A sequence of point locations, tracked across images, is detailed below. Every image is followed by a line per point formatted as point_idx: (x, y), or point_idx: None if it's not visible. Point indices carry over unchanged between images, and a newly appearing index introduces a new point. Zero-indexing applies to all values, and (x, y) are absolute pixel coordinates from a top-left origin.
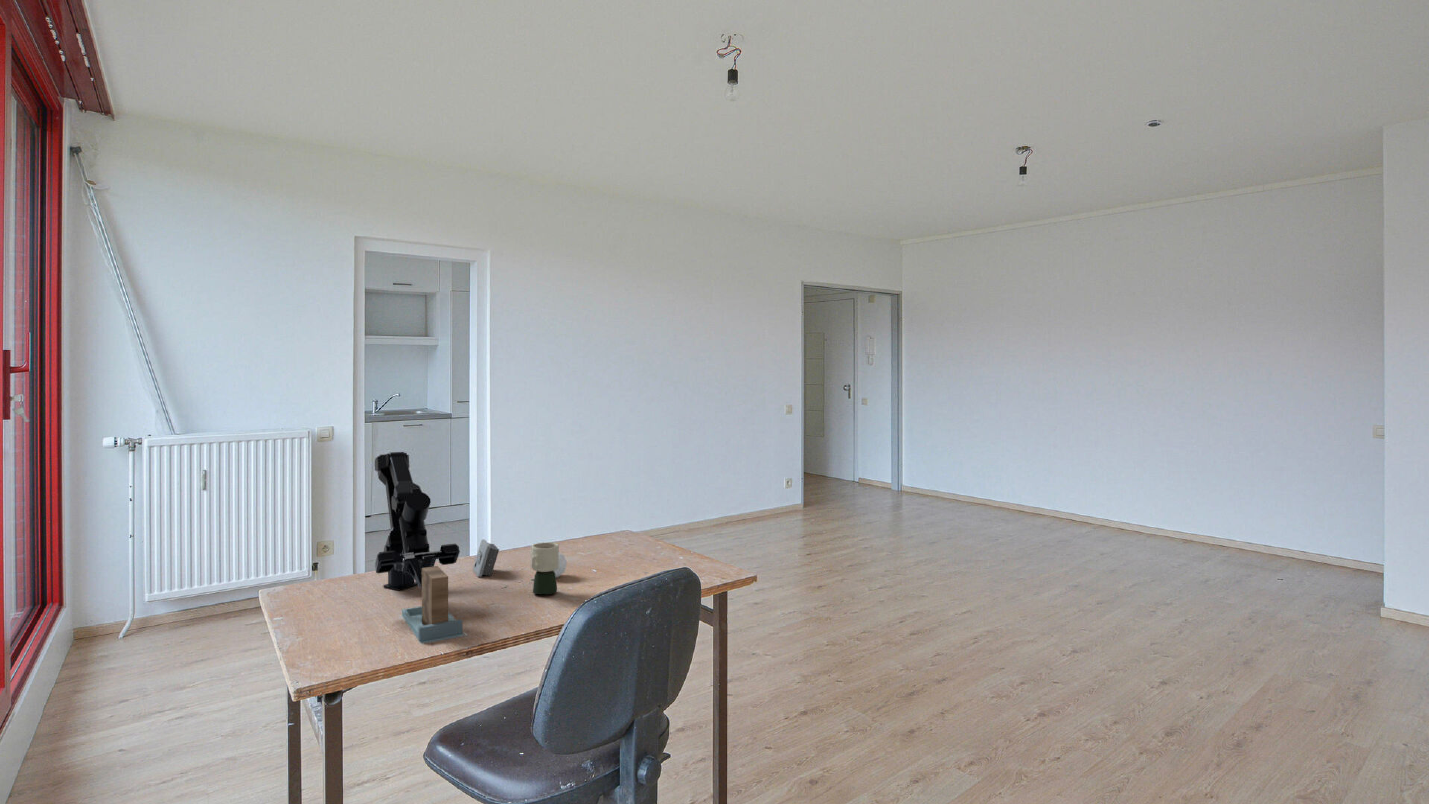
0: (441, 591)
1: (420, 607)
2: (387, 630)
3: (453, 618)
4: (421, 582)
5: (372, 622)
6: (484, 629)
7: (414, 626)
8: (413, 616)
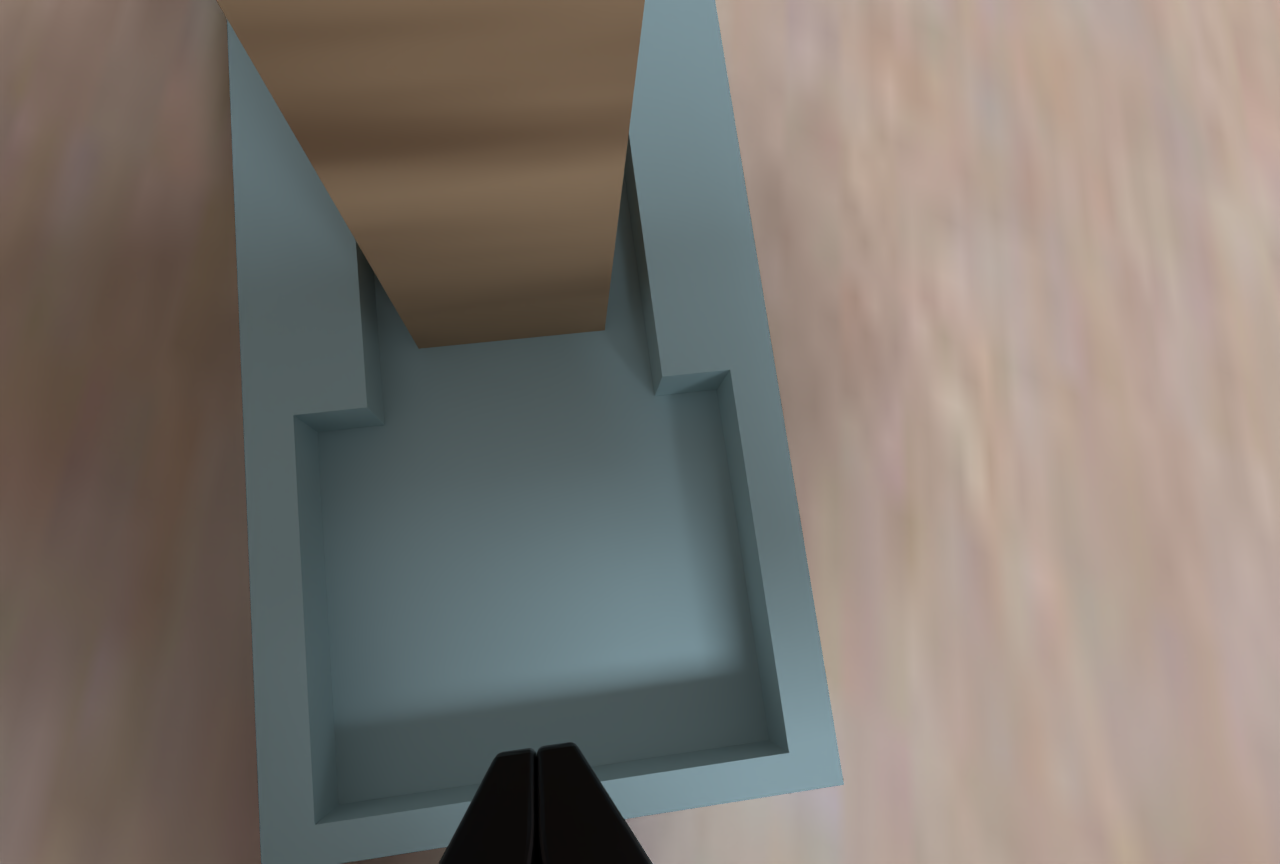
0: None
1: None
2: (958, 365)
3: (240, 109)
4: (580, 814)
5: (1136, 723)
6: None
7: (711, 34)
8: (681, 650)
